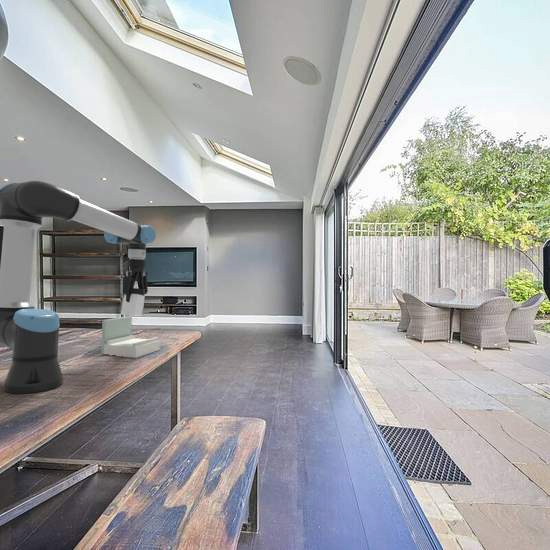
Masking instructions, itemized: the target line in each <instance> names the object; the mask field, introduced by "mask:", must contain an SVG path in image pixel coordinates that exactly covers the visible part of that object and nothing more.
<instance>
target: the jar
mask: <svg viewBox="0 0 550 550" xmlns="http://www.w3.org/2000/svg"><path fill="white" fill-rule="evenodd" d="M129 292H130V291H129ZM131 295H132V298H131V296H130V302H127V301H126V295H124V294H123V299H122V300H123V301H122V305H121V309H120V314H121V315H123V316H127V317H128V316H132V317H142V316H143V315H142V314H143V309H144V308H143V304H144V305H145V298H146V297H145V295H146V294H145V290H142V289H138V287H136V288H135V287H134V288H133V291H132V294H131Z"/></svg>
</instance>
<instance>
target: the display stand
mask: <svg viewBox="0 0 550 550" xmlns="http://www.w3.org/2000/svg"><path fill="white" fill-rule="evenodd" d="M132 318H133V316H128V315H127V316H121V317H116V318H109V319H102V322H101V323H102V325H101V326H102V328H101V348H100V349H101V351H100V355H103V354H109V355H108V356H112V355H116V357H122V356H123V357H124V358H131V357H132V358H131V359H136V358H140V357H143V356H146V355H149V354H151V353H155V352H158V351H160V349H161V347H160V346H161V340H159V336H158V337H157V336H155V337H151V338H149V339H148V338H147V339H144V338H135V336H136V335H134V334H132V323H133V321H132V320H133V319H132ZM123 357H122V358H123Z"/></svg>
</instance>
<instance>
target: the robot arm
mask: <svg viewBox="0 0 550 550" xmlns="http://www.w3.org/2000/svg"><path fill="white" fill-rule="evenodd" d="M43 218H53V219H59V220H62V221H65V222H69V221H73V222H74V221H75V222H77V223H79V224H83V225H86V226H87V227H92V228H95V229H97V230H100V231H103V233H104V234H103V237H104V240H105V241H106V242H107V243H110V244H113V245H114V244H116V245H117V244H118V245H125V246H127V247H128V248H127V249H128V251H127V258H129V259H127V267H128V268H129V270H128V271H124V281H123V288H122V294H123V296H124V295H126V301H127V302H130V296H131V298H132V295H131V294H132V291H133V288H135V283H137V289H142V290H145V294H144V295H147V294H148V292H149V290H148V271H144V268H146V260H145V259H146V255H147V253H146V252H147V244H152V243H154V242H155V240H156V236H157V232H156V229H155V228H154V227H153V226H152V225H149V224H147V225H146V224H144V225H143V224H142V225H141V224H139V223H136V222H135V221H132V220H129V219H128V218H125V217H123V216H120V215H117V214H115V213H113V212H110V211H108V210H106V209H104V208H101V207H99V206H97V205H94V204H93V203H89V202H87V201H85V200H83V199H80V196H79V195H77V194H76V193H73V192H72V191H69V190H66V189H65V188H62V187H59V186H56V185H55V184H52V183H48V182H45V181H40V180H29V181H24V182H13V183H9V184H6V185H3V186H2V187H0V224H1V225H2V226H3V236H2V245H1V256H0V258H1V259H0V347H1V348H8V349H12V354H11V355H12V357H11V358H12V359H11V361H12V362H11V365H10V367H9V369H8V371H7V372H8V373H7V375H6V378H5V380H4V381H3V391H4V392H5V393H9V394H32V393H39V392H44V391H49V390H51V389H56V388H58V387H60V386H62V384H63V383H64V375H63V372H62V370H61V367H60V363H59V359H58V356H59V355H58V354H59V353H58V352H59V338H60V337H59V336H60V335H59V332H60V326H61V325H60V316H59V314H58V313H57V312H56V311H53V310H50V309H46V308H45V309H41V308H35V307H36V306H35V305H34V304H33V303H32V302H31V290H32V289H31V288H32V278H33V266H34V254H35V244H36V233H37V231H38V230H39V229H40V228H41V227H42V225H43ZM129 291H130V292H129ZM144 305H145V303H144V304H143V309H144V308H145V307H144Z"/></svg>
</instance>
